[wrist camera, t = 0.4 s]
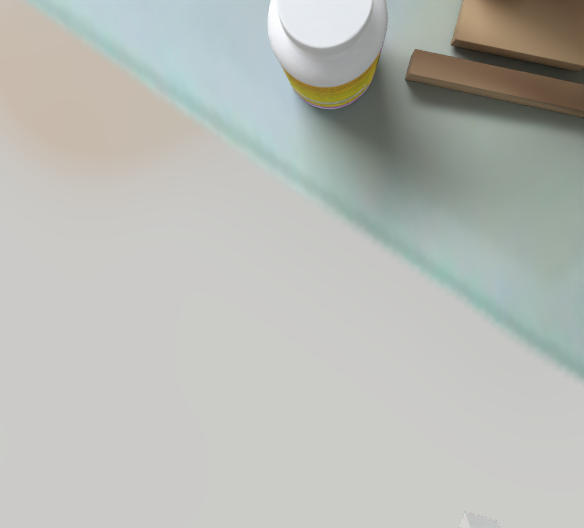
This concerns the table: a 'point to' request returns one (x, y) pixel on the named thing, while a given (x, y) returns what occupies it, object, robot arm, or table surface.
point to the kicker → (524, 30)
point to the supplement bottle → (328, 46)
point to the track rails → (497, 82)
